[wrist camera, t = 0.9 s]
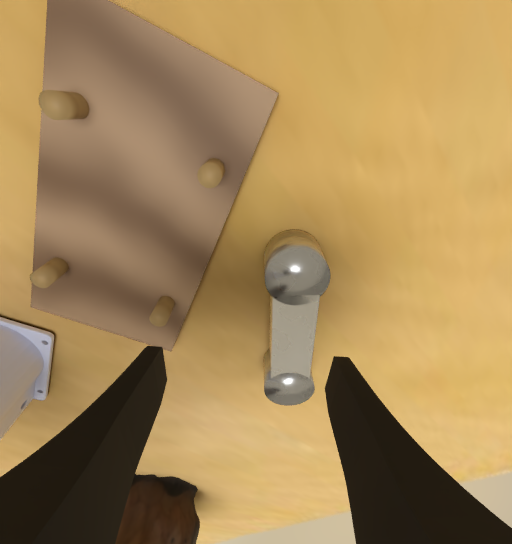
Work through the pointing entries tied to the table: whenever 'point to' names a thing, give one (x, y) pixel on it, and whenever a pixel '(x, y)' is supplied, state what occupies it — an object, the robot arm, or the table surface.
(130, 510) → the dark brown rock
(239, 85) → the board
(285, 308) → the silver ball-ended bar
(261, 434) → the table surface
